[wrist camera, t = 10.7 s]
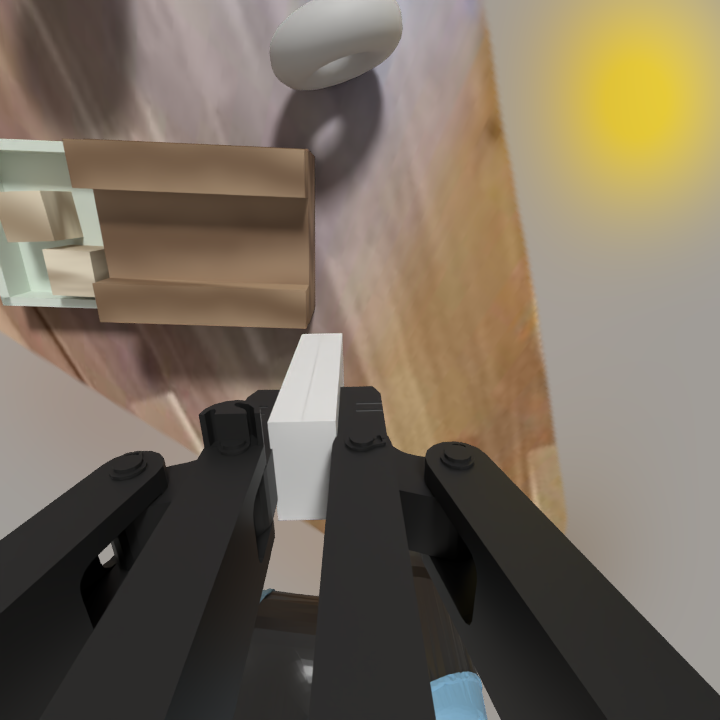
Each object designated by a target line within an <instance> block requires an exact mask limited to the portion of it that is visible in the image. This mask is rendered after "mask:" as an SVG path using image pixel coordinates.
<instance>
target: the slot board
mask: <svg viewBox="0 0 720 720" xmlns="http://www.w3.org/2000/svg"><path fill="white" fill-rule="evenodd" d="M62 142H63V147H64V151H65V156H66V161H67V166H68V171H69V175H70V180H71V185H72V188H83V189H93V193H94V198H95V204H96V209H97V214H98V219H99V224H100V230H101V235H102V240H103V245H104V250H105V256H106V261H107V266H108V271H109V277H110V278H107V279H104V280H101V281H98V282H95V283H92V285H93V290H94V295H95V300H96V305H97V309H98V314H99V319H100V322H114V323H145V324H176V325H206V326H237V327H268V328H299V329H306V328H307V325H308V324H309V323H310V320H311V317H312V315H313V312H314V309H315V156H314V155H313V154H312V153H311V152H310V151H309V150H308V149H297V148H275V147H253V146H231V145H209V144H187V143H165V142H143V141H121V140H99V139H83V140H81V139H62Z"/></svg>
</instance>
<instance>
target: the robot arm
mask: <svg viewBox="0 0 720 720" xmlns="http://www.w3.org/2000/svg"><path fill="white" fill-rule="evenodd" d="M199 419H200V425H201V430H202V436H203V441H204V449H203V451H202V452H201V454H200V456H199V457H198V459H197V460H195V461H191V462H188V463H183V464H178V465H174V466H169V467H166V466H165V461H164V458H163V457H162V456H161V455H160V454H159V453H156V452H153V451H136V452H133V453H132V452H130V453H126V454H124V455H122V456H119V457H116V458H114V459H112V460H110V461H109V462H107V463H105V464H103V465H102V466H101V467H99V468H98V469H97V470H95V471H94V472H92V473H91V474H90V475H88V476H87V477H86V478H84V479H83V480H82V481H80V482H79V483H77V484H76V485H75V486H74V487H72V488H71V489H70V490H68V491H67V492H66V493H64V494H63V495H61V496H60V497H58V498H57V499H56V500H54V501H53V502H52V503H50V504H49V505H48V506H46V507H45V508H44V509H42V510H41V511H40V512H38V513H37V514H36V515H34V516H33V517H32V518H30V519H29V520H27V521H26V522H25V523H23V524H22V525H20V526H19V527H18V528H17V529H15V530H14V531H12V532H11V533H10V534H8V535H7V536H6V537H4V538H3V539H1V540H0V720H487V715H486V711H485V705H484V700H483V695H482V683H481V680H482V682H483V684H484V686H485V688H486V690H487V692H488V694H489V696H490V698H491V700H492V702H493V705H494V707H495V709H496V711H497V713H498V715H499V717H500V719H501V720H720V695H719V694H718V693H717V692H716V691H715V690H714V689H713V688H712V687H711V686H710V685H709V684H708V683H707V682H706V681H705V680H704V679H703V678H702V677H701V676H700V675H699V673H698V672H697V671H696V670H695V669H694V668H693V667H692V666H691V665H690V664H689V663H688V662H687V661H686V660H685V659H684V658H683V657H682V656H681V655H680V654H679V653H678V652H677V651H676V650H675V649H674V648H673V647H672V646H671V645H670V644H669V643H668V642H667V640H666V639H665V638H664V637H662V635H661V634H660V633H659V632H658V631H657V630H656V629H655V628H654V627H653V626H652V625H651V624H650V623H649V622H648V621H647V620H646V619H645V618H644V617H643V616H642V615H641V614H640V613H639V612H638V611H637V610H636V609H635V608H634V606H632V604H631V603H630V602H628V600H627V599H626V598H625V597H624V596H623V595H622V594H621V593H620V592H619V591H618V590H617V589H616V588H615V587H614V586H613V585H612V584H611V583H610V582H609V581H608V580H607V579H606V578H605V577H604V576H603V574H602V573H601V572H600V571H599V570H597V568H596V567H595V566H594V565H593V564H592V563H591V562H590V561H589V560H588V559H587V558H586V557H585V556H584V555H583V554H582V553H581V552H580V551H579V550H578V549H577V548H576V547H575V546H574V545H573V544H572V543H571V541H569V539H568V538H567V537H566V536H565V535H564V534H563V533H562V532H561V531H560V530H559V529H558V528H557V527H556V526H555V525H554V524H553V523H552V522H551V521H550V520H549V519H548V518H547V517H546V516H545V515H544V514H543V513H542V512H541V511H540V510H539V508H538V507H537V506H536V505H535V504H534V503H533V502H532V501H531V500H530V499H529V498H528V497H527V496H526V495H525V494H524V493H523V492H522V491H521V490H520V489H519V488H518V487H517V486H516V485H515V484H514V483H513V482H512V481H511V480H510V479H509V478H508V477H507V475H506V474H505V473H504V472H503V471H502V470H501V469H500V468H499V467H498V466H497V465H496V464H495V463H494V462H493V461H492V460H491V459H490V458H489V457H488V456H487V455H486V454H485V453H484V452H482V451H481V450H480V449H478V448H476V447H474V446H471V445H469V444H466V443H462V442H442V443H439V444H436V445H433V446H432V447H431V448H430V449H428V450H427V453H426V456H425V457H421V456H415V455H411V454H407V453H404V452H402V451H400V450H398V449H396V448H395V447H393V446H392V444H391V441H390V439H389V437H388V436H387V433H386V427H385V420H384V414H383V407H382V400H381V394H380V393H379V392H378V391H377V390H376V389H375V388H374V387H373V386H366V387H344V371H343V341H342V333H331V334H302V336H301V338H300V341H299V343H298V346H297V348H296V351H295V353H294V356H293V359H292V361H291V364H290V366H289V369H288V371H287V374H286V376H285V379H284V382H283V384H282V387H281V389H280V390H258V391H256V392H255V393H253V394H252V395H251V396H249V397H248V398H247V399H246V401H243V400H234V401H225V402H222V403H218V404H214V405H212V406H210V407H208V408H206V409H205V410H203V411H202V412H201V413H200V414H199ZM276 505H277V512H278V520H279V521H281V520H320V519H326V524H325V535H324V547H323V558H322V570H321V581H320V593H319V596H311V595H303V594H293V593H286V592H279V591H275V590H274V589H267V590H263V586H264V581H265V577H266V573H267V569H268V564H269V560H270V556H271V551H272V547H273V542H274V538H275V530H274V521H273V517H274V513H275V509H276ZM110 543H111V544H112V548H113V551H114V554H115V555H114V556H113V557H112V558H111V559H110V560H109V561H108V562H106V563H105V564H104V565H102V564H101V563H100V560H99V557H98V555H99V554H100V552H102V551H103V550H104V549H105V548H106V547H107V546H108V545H109V544H110ZM477 672H478V674H479V676H480V677H479V676H478V674H477ZM480 678H481V679H480Z"/></svg>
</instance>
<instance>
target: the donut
mask: <svg viewBox="0 0 720 720" xmlns="http://www.w3.org/2000/svg"><path fill="white" fill-rule="evenodd" d="M402 29H403V28H402V16H401V11H400V8H399V5H398V3H397V2H396V0H312V1H310V2H308V3H306V4H305V5H303V6H302V7H300V8H299V9H297V10H296V11H294V12H293V13H292V14H291V15H290V16H289V17H288V18H287V19H286V20H285V21H284V22H283V23H282V24H281V25H280V26H279V27H278V29H277V30H276V32H275V34H274V36H273V38H272V41H271V43H270V60H271V66H272V69H273V71H274V73H275V76H276V77H277V78H278V79H279V80H280V81H281V82H282V83H284V84H285V85H287V86H288V87H290V88H292V89H296V90H305V91H308V90H317V89H322V88H326V87H330V86H333V85H336V84H340V83H343V82H345V81H348V80H350V79H353V78H355V77H358V76H360V75H362V74H364V73H366V72H368V71H370V70H371V69H373V68H374V67H376V66H378V65H379V64H381V63H382V62H383V61H384V60H385V59H387V58H388V57H389V56H390V55H391V54H392V53H393V51H394V50H395V48H396V47H397V45H398V43H399V41H400V39H401V35H402Z"/></svg>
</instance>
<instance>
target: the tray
mask: <svg viewBox="0 0 720 720" xmlns="http://www.w3.org/2000/svg"><path fill="white" fill-rule="evenodd" d="M9 191H71V192H72V196H73V200H74V203H75V207H76V211H77V214H78V218H79V222H80V225H81V229H82V233H83V236H84V237H81V238H73V239H66V240H59V241H42V242H8V241H7V238H6V235H5V232H4V229H3V227H2V224H1V221H0V296H1V299H2V302H3V305H11V306H41V307H71V308H97V305H96V300H95V297H82V296H61V295H53V294H52V290H51V285H50V281H49V277H48V272H47V268H46V264H45V260H44V255H43V251H42V249H48V248H54V247H60V246H67V245H89V246H104V245H103V240H102V235H101V230H100V224H99V219H98V214H97V209H96V204H95V198H94V193H93V189H83V188H72V185H71V180H70V175H69V171H68V166H67V161H66V156H65V151H64V147H63V142H62V141H40V140H18V139H0V192H9Z"/></svg>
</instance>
